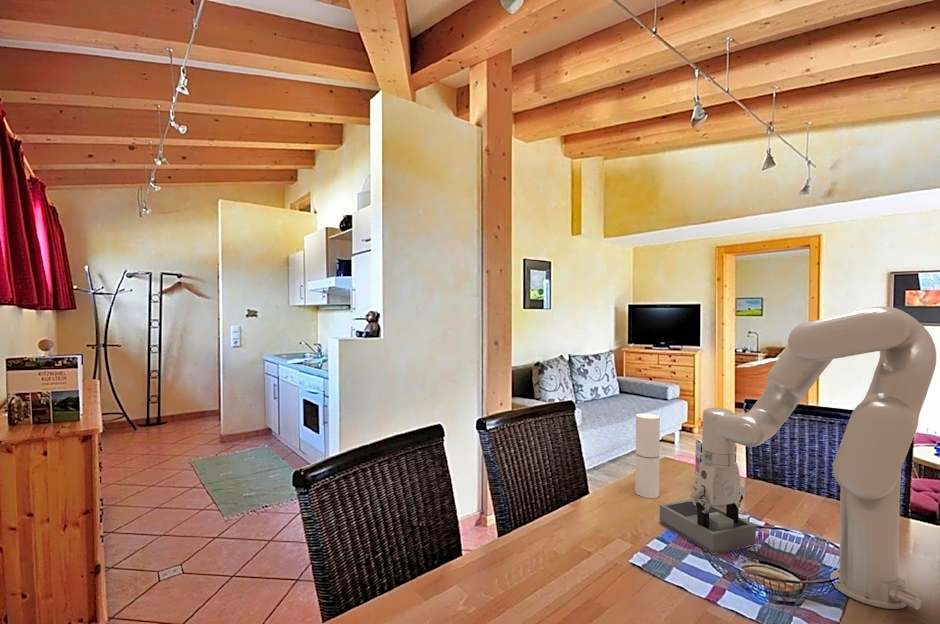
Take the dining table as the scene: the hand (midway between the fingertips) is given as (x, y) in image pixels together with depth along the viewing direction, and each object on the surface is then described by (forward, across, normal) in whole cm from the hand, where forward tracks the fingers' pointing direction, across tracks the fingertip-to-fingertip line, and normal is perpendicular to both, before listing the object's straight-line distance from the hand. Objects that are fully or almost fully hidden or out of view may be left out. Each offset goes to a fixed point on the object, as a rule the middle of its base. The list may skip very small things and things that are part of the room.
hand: (717, 523), depth 121 cm
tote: (+4, 0, +4) cm, 6 cm away
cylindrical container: (+4, +4, +31) cm, 32 cm away
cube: (+3, 0, 0) cm, 3 cm away
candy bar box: (+4, +26, +25) cm, 36 cm away
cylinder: (+4, +15, +13) cm, 20 cm away
